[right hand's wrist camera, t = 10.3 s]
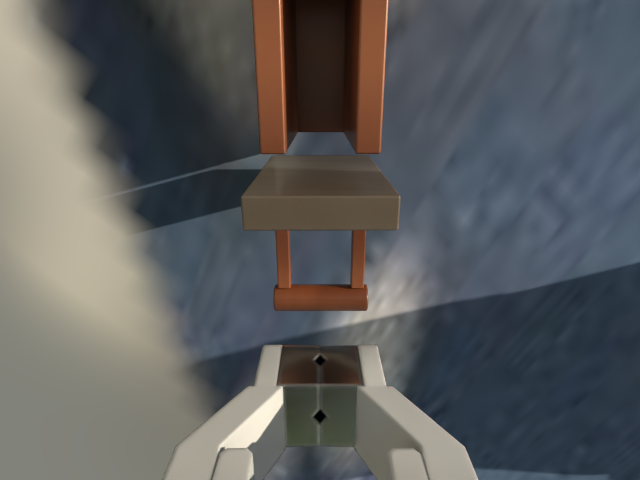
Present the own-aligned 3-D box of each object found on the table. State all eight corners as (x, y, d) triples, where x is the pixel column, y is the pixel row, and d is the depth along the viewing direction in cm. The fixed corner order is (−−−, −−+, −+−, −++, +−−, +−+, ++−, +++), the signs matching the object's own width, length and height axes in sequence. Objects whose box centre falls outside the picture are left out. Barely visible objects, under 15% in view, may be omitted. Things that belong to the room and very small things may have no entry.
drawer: (364, 273, 23) (388, 372, 15) (277, 273, 23) (253, 372, 15) (384, -218, 16) (455, -563, 7) (255, -217, 16) (182, -561, 7)
